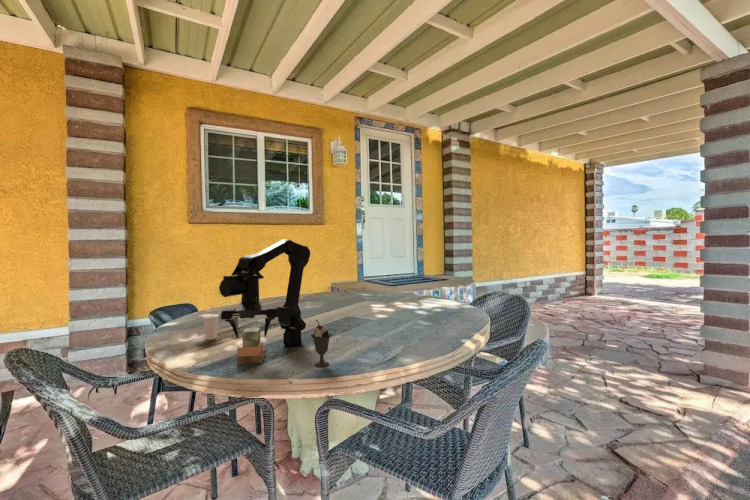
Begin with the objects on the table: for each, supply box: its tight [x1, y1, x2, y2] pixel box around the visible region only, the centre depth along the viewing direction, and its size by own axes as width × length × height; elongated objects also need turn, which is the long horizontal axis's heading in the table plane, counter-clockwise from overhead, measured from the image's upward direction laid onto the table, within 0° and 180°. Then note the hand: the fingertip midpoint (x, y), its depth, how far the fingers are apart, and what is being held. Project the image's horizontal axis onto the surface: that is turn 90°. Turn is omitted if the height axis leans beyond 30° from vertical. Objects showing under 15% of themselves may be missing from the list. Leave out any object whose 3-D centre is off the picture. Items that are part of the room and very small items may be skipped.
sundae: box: [310, 319, 332, 368], centre depth 122 cm, size 7×7×15 cm
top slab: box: [236, 340, 264, 356], centre depth 127 cm, size 7×7×3 cm
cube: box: [241, 327, 261, 347], centre depth 127 cm, size 5×5×5 cm
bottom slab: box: [236, 347, 266, 365], centre depth 128 cm, size 8×8×3 cm
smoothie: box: [202, 305, 220, 341], centre depth 155 cm, size 6×6×14 cm
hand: (251, 337), depth 127 cm, fingers open, 9 cm apart
